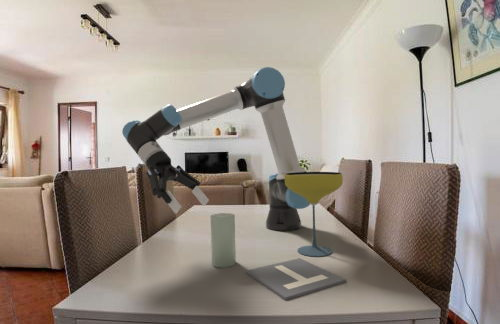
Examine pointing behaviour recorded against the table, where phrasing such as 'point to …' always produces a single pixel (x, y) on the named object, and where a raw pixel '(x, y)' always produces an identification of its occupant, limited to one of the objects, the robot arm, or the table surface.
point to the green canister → (223, 240)
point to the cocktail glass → (314, 198)
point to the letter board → (294, 278)
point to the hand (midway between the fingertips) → (193, 206)
